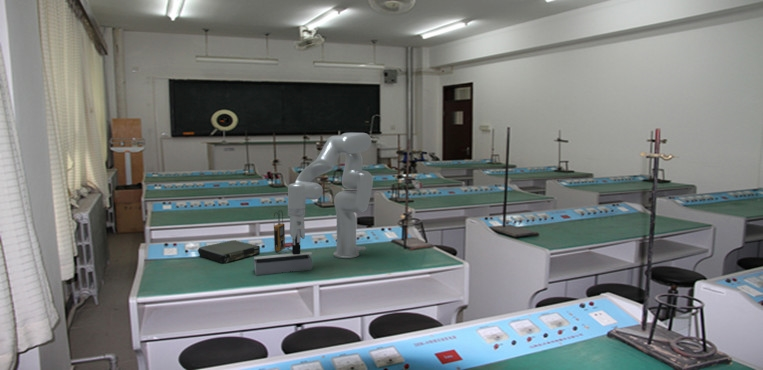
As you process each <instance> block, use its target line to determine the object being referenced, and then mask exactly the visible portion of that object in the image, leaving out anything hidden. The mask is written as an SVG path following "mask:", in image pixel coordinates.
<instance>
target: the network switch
mask: <svg viewBox="0 0 763 370" xmlns="http://www.w3.org/2000/svg"><path fill="white" fill-rule="evenodd" d="M260 254H261V248H260V245H257V244H252V243H248V242H245V241H239V240H236V239H234V240H227V241H223V242H218V243H213V244H207V245H204V246H200V247H199V248H198V255H199V256H200V257H201V258H205V259H209V260H211V261H214V262H216V263H220V264H226V263H229V262H233V261H237V260H241V259H243V258H247V257H248V258H249V257H251V256H255V255H260Z"/></svg>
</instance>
